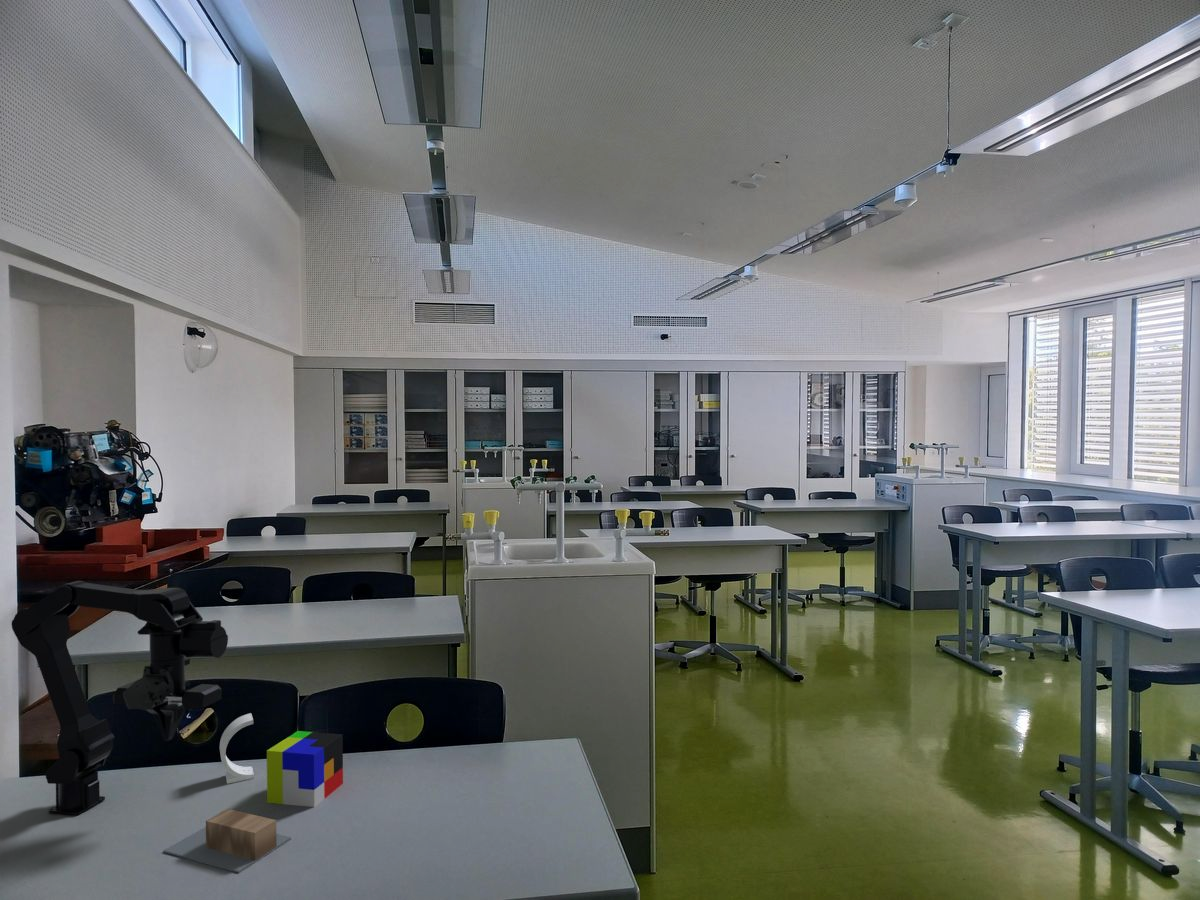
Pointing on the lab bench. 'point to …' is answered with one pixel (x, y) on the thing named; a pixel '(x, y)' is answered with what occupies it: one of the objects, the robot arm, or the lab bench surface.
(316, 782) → the puzzle toy
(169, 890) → the lab bench surface
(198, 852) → the slate mat
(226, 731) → the headphone stand
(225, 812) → the walnut block
